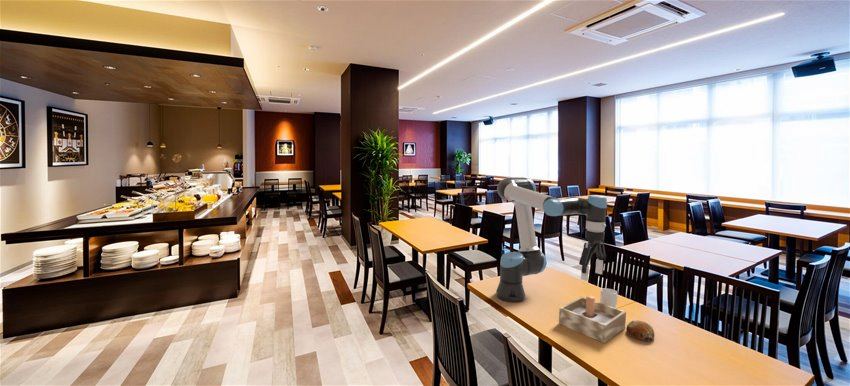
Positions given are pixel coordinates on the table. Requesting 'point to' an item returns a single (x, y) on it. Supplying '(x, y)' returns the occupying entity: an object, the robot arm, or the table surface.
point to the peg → (590, 306)
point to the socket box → (593, 319)
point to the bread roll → (640, 330)
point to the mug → (608, 297)
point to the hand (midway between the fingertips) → (591, 276)
